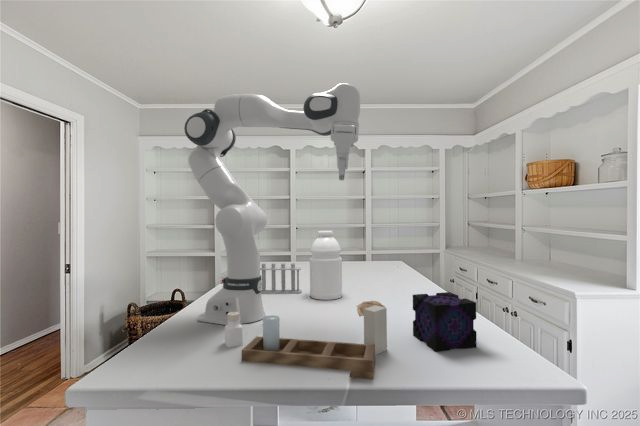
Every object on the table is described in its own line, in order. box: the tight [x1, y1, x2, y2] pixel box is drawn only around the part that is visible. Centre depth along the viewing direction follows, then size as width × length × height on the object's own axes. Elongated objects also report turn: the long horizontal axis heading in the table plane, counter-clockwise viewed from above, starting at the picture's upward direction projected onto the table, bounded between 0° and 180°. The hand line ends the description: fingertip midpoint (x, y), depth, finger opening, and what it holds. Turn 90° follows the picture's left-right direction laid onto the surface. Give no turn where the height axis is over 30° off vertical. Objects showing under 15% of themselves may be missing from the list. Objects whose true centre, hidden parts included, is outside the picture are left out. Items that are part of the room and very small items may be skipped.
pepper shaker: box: [224, 312, 244, 348], centre depth 91 cm, size 4×4×10 cm
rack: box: [241, 336, 376, 380], centre depth 82 cm, size 30×9×4 cm, turn 78°
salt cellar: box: [262, 314, 281, 352], centre depth 84 cm, size 4×4×9 cm
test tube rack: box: [260, 262, 302, 295], centre depth 155 cm, size 25×4×13 cm, turn 89°
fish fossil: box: [356, 300, 386, 318], centre depth 123 cm, size 26×10×1 cm, turn 177°
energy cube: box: [412, 291, 477, 353], centre depth 95 cm, size 12×12×12 cm
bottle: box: [309, 230, 343, 301], centre depth 147 cm, size 14×14×28 cm
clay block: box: [363, 305, 388, 356], centre depth 89 cm, size 4×5×11 cm
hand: (341, 177), depth 109 cm, fingers open, 8 cm apart
